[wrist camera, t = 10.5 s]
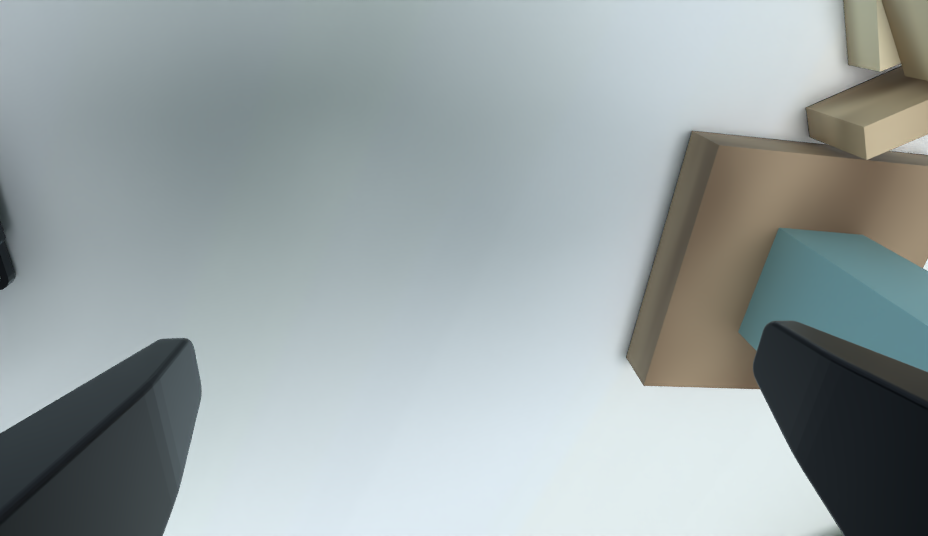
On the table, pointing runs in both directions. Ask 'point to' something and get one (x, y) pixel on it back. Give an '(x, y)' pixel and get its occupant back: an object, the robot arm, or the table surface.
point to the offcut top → (910, 34)
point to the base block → (757, 242)
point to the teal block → (843, 293)
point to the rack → (872, 115)
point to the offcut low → (869, 35)
